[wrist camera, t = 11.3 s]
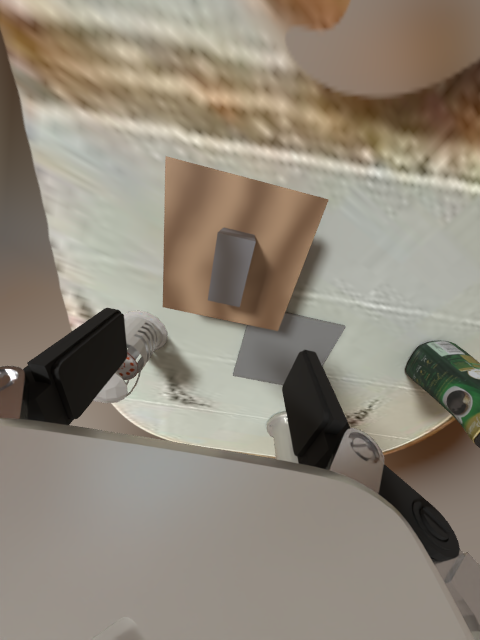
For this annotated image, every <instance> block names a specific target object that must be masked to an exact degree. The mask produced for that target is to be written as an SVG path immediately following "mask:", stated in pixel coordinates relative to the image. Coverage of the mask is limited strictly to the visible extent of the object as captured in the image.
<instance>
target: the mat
mask: <svg viewBox="0 0 480 640" xmlns="http://www.w3.org/2000/svg"><path fill="white" fill-rule="evenodd" d="M344 329H345V326H344V325H340V324H336V323H331V322H327V321H322V320H318V319H313V318H309V317H304V316H300V315H295V314H291V313H286V312H285V314H284V317H283V319H282V322H281V324H280V327H279V330H278V331H275V330H271V329H266V328H261V327H256V326H251V325H247V327H246V330H245V334H244V337H243V341H242V344H241V348H240V351H239V355H238V358H237V362H236V365H235V369H234V372H233V376H237V377H242V378H248V379H253V380H258V381H263V382H269V383H274V384H279V385H283V384H284V382H285V380H286V378H287V376H288V374H289V372H290V370H291V368H292V366H293V364H294V362H295V360H296V358H297V356H298V354H299V352H302V351H303V350H309V351H314V352H316V354H317V356H318V358H319V360H320V363H321V365H322V366H323V364H324V362H325V361H326V359H327V357H328V356H329V354H330V352H331V351H332V349H333V347H334V346H335V344H336V342H337V341H338V339H339V337H340V336H341V334H342V332H343V331H344Z"/></svg>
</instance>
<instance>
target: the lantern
mask: <svg viewBox="0 0 480 640" xmlns="http://www.w3.org/2000/svg"><path fill="white" fill-rule="evenodd" d="M124 321H125V332H126V344H127V348H128V350H127V358H126V360H125V362H124V363H123V364H122V365H121V366H120V368H119V369H118V370H117V371H116V373H115V374H114V375H113V376H112V378H111V379H110V380H109V381H108V382H107V384H106V385H105V386H104V387H103V389H102V390H101V391H100V392H99V394H98V395H97V396H96V397H95V399H94V400H93V401H97V402H104V403H114V402H118V401H121V400H123V399H124V398H125V397H127V396H128V395H129V394H130V393H131V392H132V391H133V389H134V388H135V386H136V384H137V382H138V379H139V377H140V372H141V370H142V369H143V367H144V366H145V364H146V362H147V361H148V360H149V358H150V357H151V355H152V353H153V352H154V351H155V350H157V349H159V348H160V347H162V346H164V344H165V342H166V341H167V331H166V328H165V326H164V324H163V323H162V322H161V321H160V320H159V319H158V318H157V317H155V316H153V315H152V314H150V313H148V312H143V311H139V310H137V311H129V312H127V313H126V314H124ZM139 354H141V355H142V357H141V358H140V360H139V361H138V363H137V362H136V361H135V360H136V358H137V357H138V356H139ZM137 373H139V375H138V378H137V381H136V383H135V385H134V387H133V388H132V390H131V391H130V392H129V393H128V392H127V384H128V382H129V380H130V379H132V378H133V377H135V376H136V374H137ZM124 380H128V381H127V383H125V381H124Z"/></svg>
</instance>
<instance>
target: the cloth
mask: <svg viewBox="0 0 480 640" xmlns="http://www.w3.org/2000/svg"><path fill="white" fill-rule="evenodd" d="M327 202H328V199H324V198H321V197H317V196H313V195H309V194H306V193H302V192H298V191H294V190H291V189H287V188H283V187H279V186H276V185H272V184H268V183H264V182H261V181H257V180H253V179H249V178H246V177H242V176H238V175H234V174H231V173H227V172H223V171H219V170H215V169H212V168H208V167H204V166H200V165H197V164H193V163H189V162H185V161H182V160H178V159H174V158H170V157H167V156H166V163H165V218H164V272H163V307H165V308H170V309H175V310H180V311H184V312H189V313H194V314H199V315H204V316H208V317H213V318H218V319H223V320H227V321H232V322H237V323H242V324H247V325H251V326H256V327H261V328H266V329H271V330H275V331H278V330H279V327H280V324H281V322H282V319H283V317H284V314H285V311H286V309H287V306H288V304H289V301H290V298H291V296H292V293H293V291H294V288H295V285H296V283H297V280H298V278H299V275H300V272H301V270H302V267H303V265H304V262H305V259H306V257H307V254H308V252H309V249H310V246H311V244H312V241H313V239H314V236H315V233H316V231H317V228H318V226H319V223H320V220H321V218H322V215H323V213H324V210H325V207H326V205H327Z"/></svg>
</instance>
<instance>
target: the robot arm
mask: <svg viewBox="0 0 480 640" xmlns="http://www.w3.org/2000/svg"><path fill="white" fill-rule="evenodd" d="M126 358H127V344H126V332H125V321H124V315H123V314H121V312H120V311H119V310H115V309H111V308H105V309H104V310H102V311H101V312H99V313H98V314H96V315H95V316H94V317H92V318H91V319H89V320H88V321H86V322H85V323H84V324H82V325H81V326H79V327H78V328H76V329H75V330H74V331H72V332H71V333H69V334H68V335H66V336H65V337H64V338H62V339H61V340H59V341H58V342H56V343H55V344H54V345H52V346H51V347H49V348H48V349H46V350H45V351H44V352H42V353H41V354H39V355H38V356H36V357H35V358H34V359H32V360H31V361H29V362H28V366H27V367H25V368H24V369H22V368H20V367H16V366H2V367H0V640H480V565H479V564H478V563H477V562H476V561H475V560H474V559H473V557H472V556H471V555H470V554H469V553H468V552H466V553H463V552H462V551H461V550H460V548H459V543H458V540H457V538H456V536H455V534H454V531H453V530H452V528H451V527H450V525H449V523H448V522H447V521H446V520H445V518H444V517H443V516H442V515H441V513H440V512H439V511H437V510H436V509H435V508H434V507H433V506H432V505H431V504H430V503H429V502H428V501H426V500H425V499H424V498H423V497H422V496H421V495H419V494H418V493H417V492H416V491H415V490H414V489H412V488H411V487H410V486H409V485H408V484H407V483H405V482H404V481H403V480H402V479H401V478H399V477H398V476H397V475H396V474H395V473H394V472H393V471H391V470H390V469H389V468H388V467H387V466H386V465H384V456H383V454H382V451H381V449H380V448H379V446H378V445H377V443H376V442H375V441H374V440H373V439H372V438H371V437H370V436H369V435H368V434H366V433H364V432H363V431H361V430H358V429H355V428H350V427H349V424H348V422H347V419H346V417H345V415H344V413H343V411H342V409H341V406H340V404H339V402H338V400H337V398H336V395H335V393H334V391H333V389H332V387H331V384H330V382H329V380H328V378H327V376H326V374H325V371H324V369H323V367H322V365H321V363H320V360H319V358H318V356H317V354H316V352H314V351H309V350H303V351H302V352H299V354H298V356H297V358H296V360H295V362H294V364H293V366H292V368H291V370H290V372H289V374H288V376H287V378H286V380H285V382H284V384H283V388H282V391H283V397H284V402H285V408H286V412H282V413H278V414H276V415H274V416H273V417H271V418H270V419H269V421H268V422H267V432H268V433H269V435H270V436H272V437H273V438H274V446H275V456H276V459H272V458H266V457H260V456H254V455H248V454H242V453H237V452H231V451H225V450H219V449H213V448H207V447H201V446H195V445H189V444H183V443H177V442H171V441H165V440H158V439H152V438H146V437H139V436H134V435H128V434H121V433H115V432H108V431H102V430H96V429H90V428H83V427H77V426H70V425H69V424H70V423H71V422H72V421H73V420H74V419H77V418H78V417H80V416H81V415H82V413H83V412H84V411H85V410H86V408H87V407H88V406H89V405H90V403H91V402H92V401H93V400H94V399H95V397H96V396H97V395H98V394H99V392H100V391H101V390H102V389H103V387H104V386H105V385H106V384H107V382H108V381H109V380H110V379H111V378H112V376H113V375H114V374H115V373H116V371H117V370H118V369H119V368H120V366H121V365H122V364H123V363H124V362H125V360H126Z"/></svg>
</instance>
